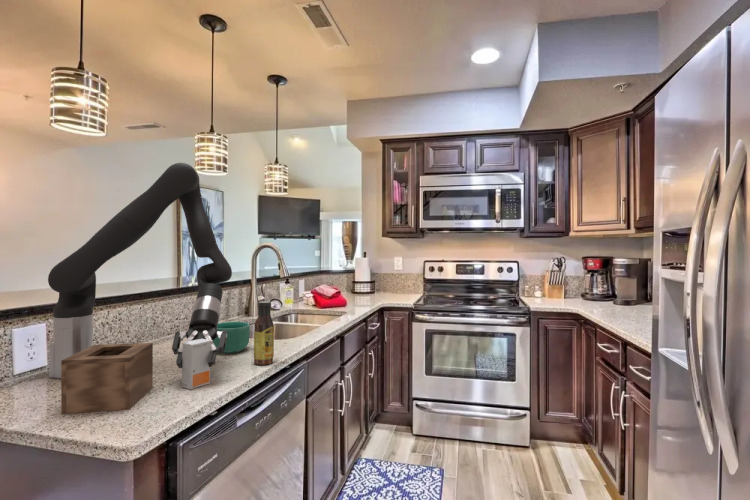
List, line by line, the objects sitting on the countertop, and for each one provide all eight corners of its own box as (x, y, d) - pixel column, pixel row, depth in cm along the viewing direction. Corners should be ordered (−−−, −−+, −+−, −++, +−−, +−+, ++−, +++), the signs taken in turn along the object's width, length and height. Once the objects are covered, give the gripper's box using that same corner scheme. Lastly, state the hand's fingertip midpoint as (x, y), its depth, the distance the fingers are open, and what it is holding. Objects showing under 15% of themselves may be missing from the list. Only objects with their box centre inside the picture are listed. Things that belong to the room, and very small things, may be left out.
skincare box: (190, 390, 102) (190, 344, 102) (181, 387, 104) (181, 342, 104) (211, 383, 107) (211, 340, 107) (201, 380, 109) (202, 338, 109)
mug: (252, 346, 148) (252, 321, 148) (246, 355, 135) (246, 328, 135) (206, 347, 145) (206, 322, 145) (195, 356, 133) (195, 329, 133)
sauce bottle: (268, 366, 123) (268, 303, 122) (249, 365, 124) (250, 303, 124) (277, 360, 129) (277, 300, 129) (260, 359, 130) (260, 300, 130)
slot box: (61, 413, 87) (61, 360, 87) (94, 390, 101) (94, 344, 101) (129, 409, 90) (129, 357, 90) (152, 387, 104) (152, 342, 104)
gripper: (177, 308, 112) (162, 360, 100) (229, 307, 114) (221, 357, 103) (182, 323, 117) (169, 374, 105) (232, 321, 119) (225, 371, 108)
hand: (195, 366), depth 104 cm, fingers closed on skincare box, 7 cm apart
